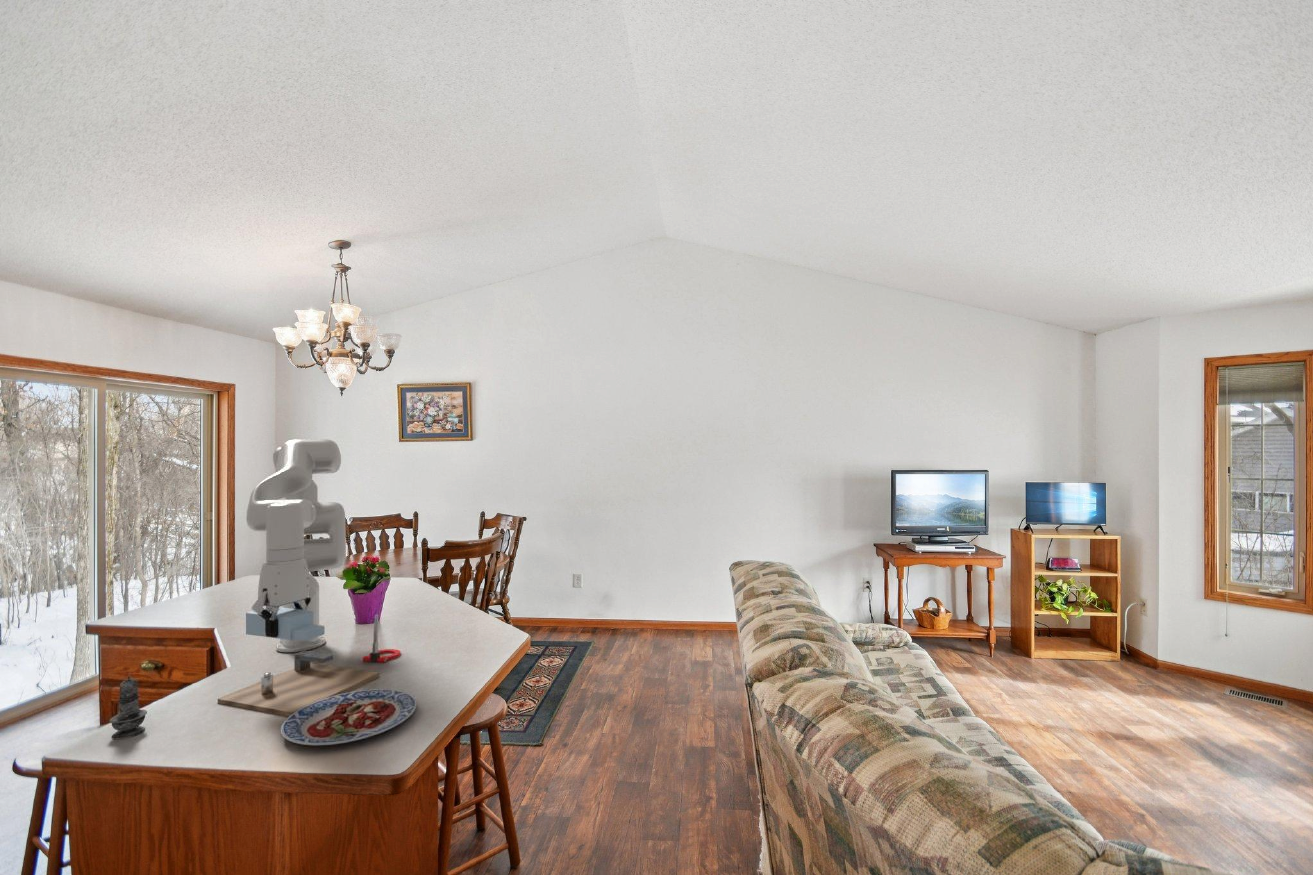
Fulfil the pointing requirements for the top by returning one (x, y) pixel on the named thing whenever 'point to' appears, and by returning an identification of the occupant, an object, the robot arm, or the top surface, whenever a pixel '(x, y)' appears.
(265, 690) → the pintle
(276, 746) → the top surface
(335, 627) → the top surface
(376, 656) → the tow hook
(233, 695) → the board
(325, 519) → the robot arm
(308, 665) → the bracket
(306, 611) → the link
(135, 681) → the grey stone sculpture
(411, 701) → the ceramic plate
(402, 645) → the top surface
